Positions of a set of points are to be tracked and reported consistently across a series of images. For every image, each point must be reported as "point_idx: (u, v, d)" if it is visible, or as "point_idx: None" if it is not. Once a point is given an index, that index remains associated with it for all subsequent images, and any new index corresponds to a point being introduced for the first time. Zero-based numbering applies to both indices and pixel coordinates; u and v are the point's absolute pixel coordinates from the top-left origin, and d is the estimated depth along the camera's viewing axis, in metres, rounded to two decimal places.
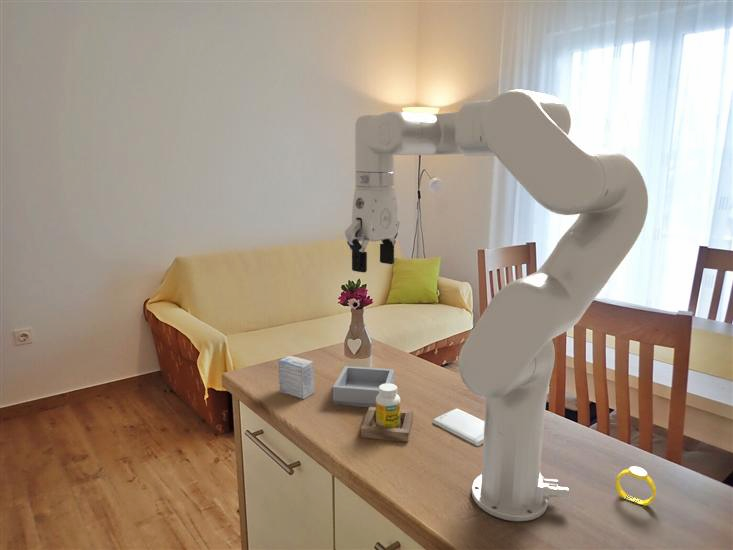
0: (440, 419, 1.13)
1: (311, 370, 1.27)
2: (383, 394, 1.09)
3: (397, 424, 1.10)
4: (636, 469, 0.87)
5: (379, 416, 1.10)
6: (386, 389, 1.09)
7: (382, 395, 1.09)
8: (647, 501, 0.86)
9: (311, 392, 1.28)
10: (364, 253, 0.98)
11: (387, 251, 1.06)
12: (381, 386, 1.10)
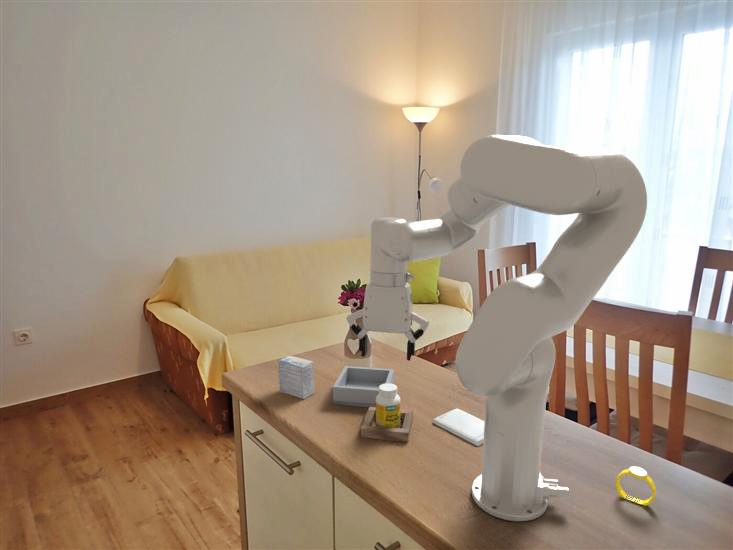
0: (440, 419, 1.14)
1: (311, 370, 1.27)
2: (383, 394, 1.09)
3: (397, 424, 1.10)
4: (636, 469, 0.87)
5: (379, 416, 1.10)
6: (386, 389, 1.09)
7: (382, 395, 1.09)
8: (647, 501, 0.86)
9: (311, 392, 1.28)
10: None
11: (366, 342, 1.10)
12: (381, 386, 1.10)
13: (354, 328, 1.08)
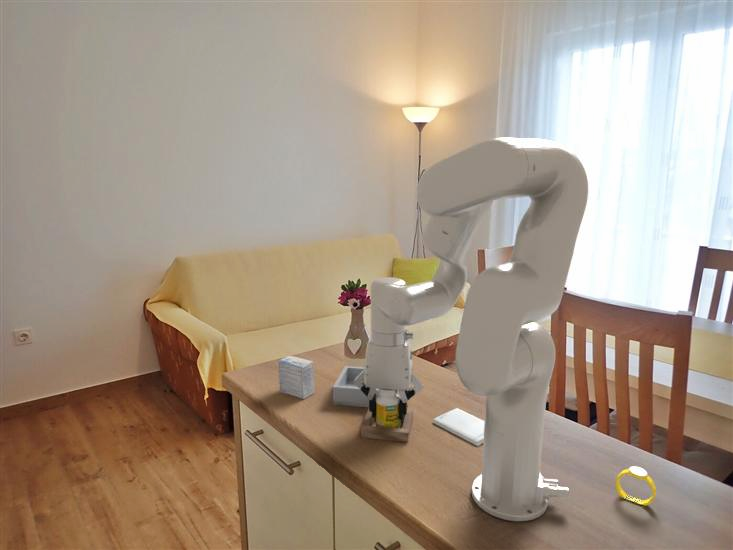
0: (440, 419, 1.14)
1: (311, 370, 1.27)
2: (383, 394, 1.09)
3: (397, 424, 1.10)
4: (636, 469, 0.87)
5: (379, 416, 1.10)
6: (386, 389, 1.09)
7: (382, 395, 1.09)
8: (647, 501, 0.86)
9: (311, 392, 1.28)
10: None
11: None
12: None
13: (364, 390, 1.10)
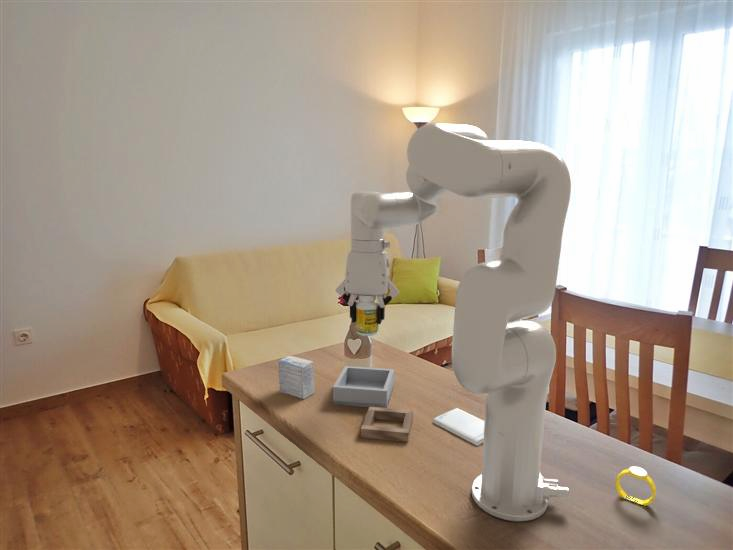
0: (440, 419, 1.14)
1: (311, 370, 1.27)
2: (362, 299, 1.18)
3: (375, 328, 1.20)
4: (636, 469, 0.87)
5: (359, 320, 1.19)
6: (365, 295, 1.19)
7: (361, 300, 1.19)
8: (647, 501, 0.86)
9: (311, 392, 1.28)
10: None
11: None
12: None
13: (345, 297, 1.20)
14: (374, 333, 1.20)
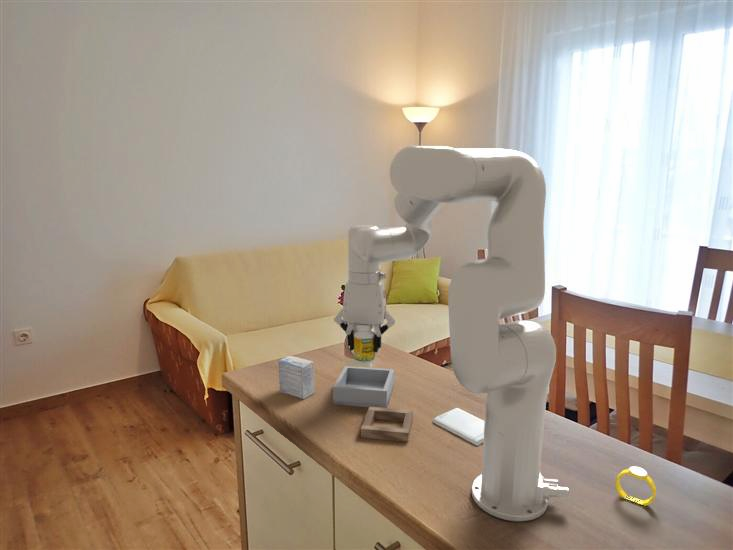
0: (440, 419, 1.14)
1: (311, 370, 1.27)
2: (359, 328, 1.22)
3: (372, 356, 1.24)
4: (636, 469, 0.87)
5: (356, 349, 1.23)
6: None
7: (359, 329, 1.23)
8: (647, 501, 0.86)
9: (311, 392, 1.28)
10: None
11: None
12: None
13: (343, 326, 1.24)
14: (371, 361, 1.24)
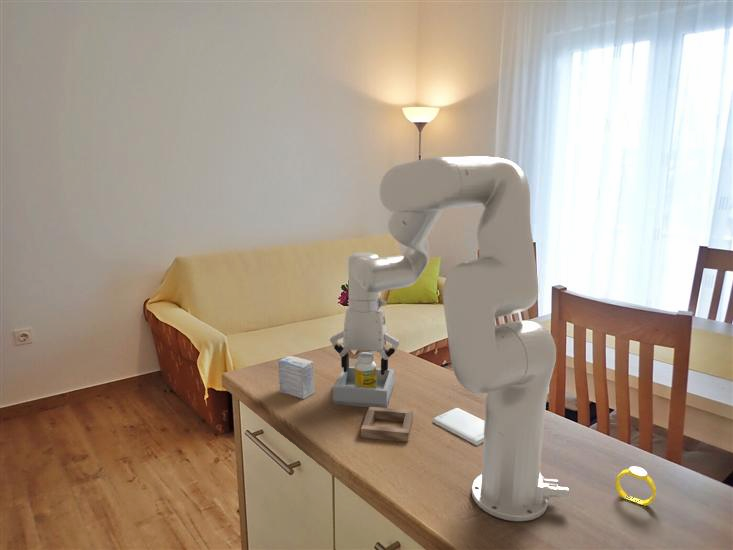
0: (440, 419, 1.14)
1: (311, 370, 1.27)
2: (361, 360, 1.24)
3: None
4: (636, 469, 0.87)
5: (358, 381, 1.25)
6: (363, 357, 1.24)
7: (360, 362, 1.24)
8: (647, 501, 0.86)
9: (311, 392, 1.28)
10: None
11: (348, 359, 1.27)
12: (359, 354, 1.26)
13: (337, 348, 1.26)
14: None
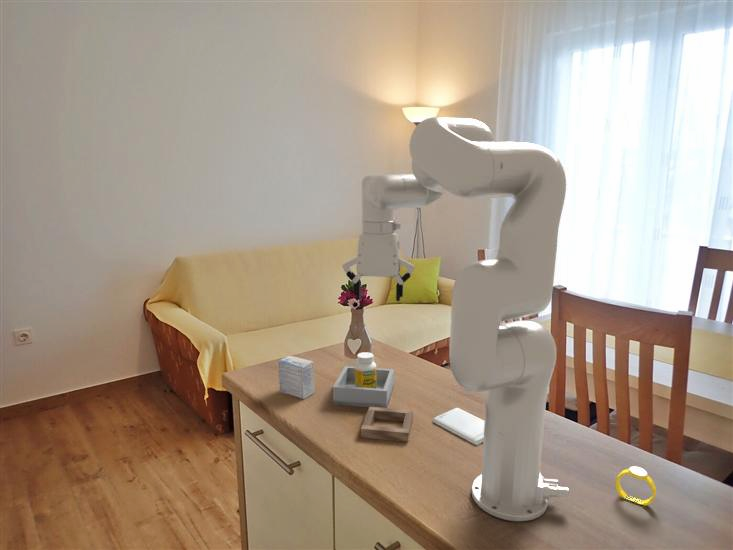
0: (440, 418, 1.14)
1: (311, 370, 1.27)
2: (361, 361, 1.24)
3: None
4: (636, 469, 0.87)
5: (358, 381, 1.25)
6: (363, 357, 1.24)
7: (360, 362, 1.24)
8: (647, 501, 0.86)
9: (311, 392, 1.28)
10: None
11: (360, 287, 1.24)
12: (359, 354, 1.26)
13: (349, 274, 1.23)
14: None
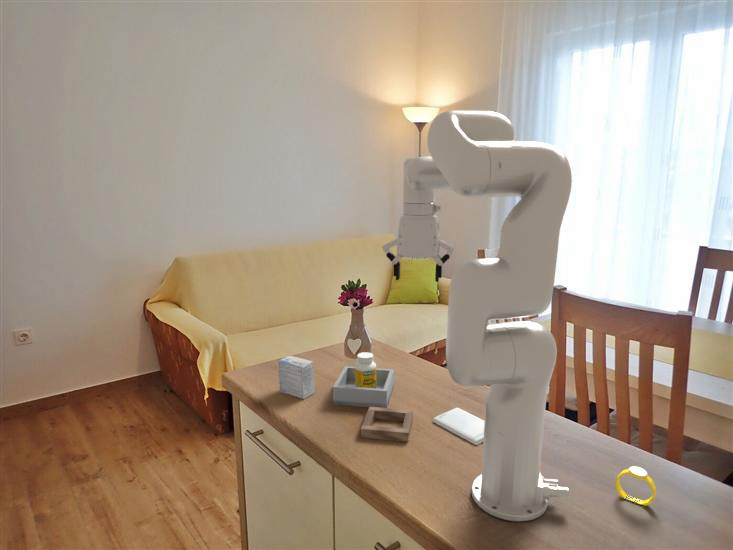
0: (440, 418, 1.14)
1: (311, 370, 1.27)
2: (360, 361, 1.24)
3: None
4: (636, 469, 0.87)
5: (358, 381, 1.25)
6: (363, 357, 1.24)
7: (360, 362, 1.24)
8: (647, 501, 0.86)
9: (311, 392, 1.28)
10: None
11: (399, 268, 1.27)
12: (359, 354, 1.26)
13: (389, 255, 1.25)
14: None
